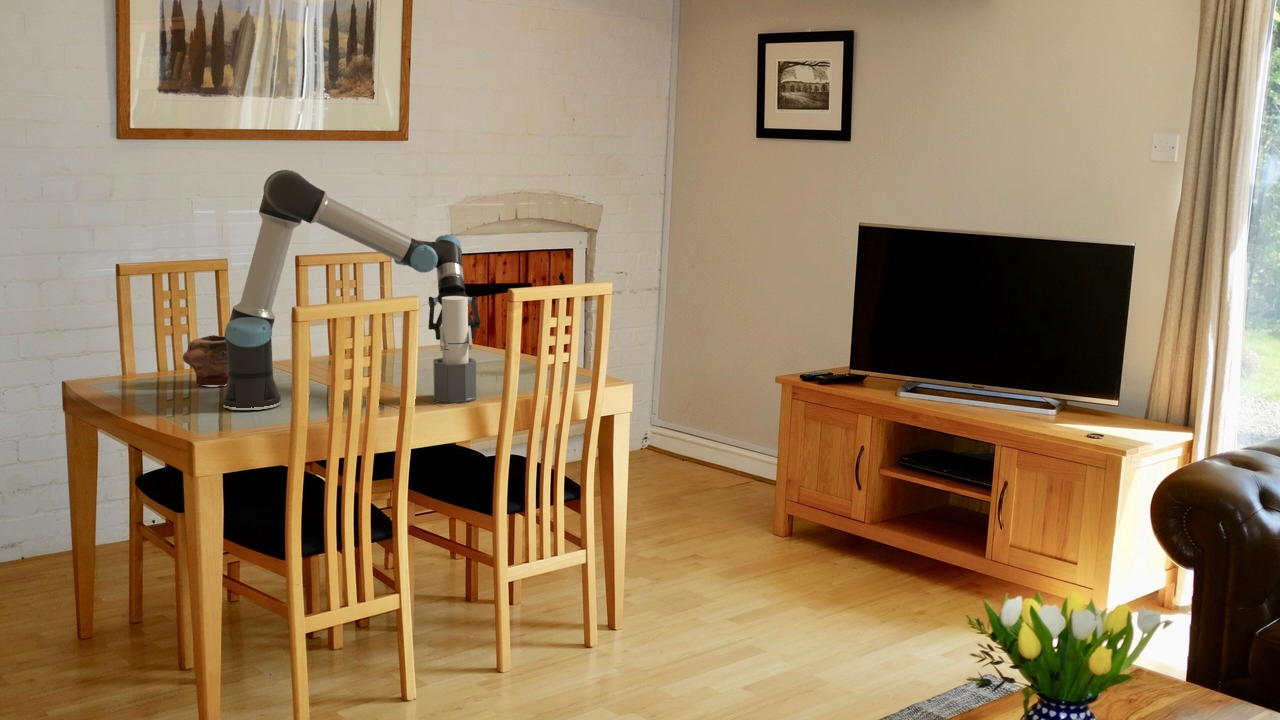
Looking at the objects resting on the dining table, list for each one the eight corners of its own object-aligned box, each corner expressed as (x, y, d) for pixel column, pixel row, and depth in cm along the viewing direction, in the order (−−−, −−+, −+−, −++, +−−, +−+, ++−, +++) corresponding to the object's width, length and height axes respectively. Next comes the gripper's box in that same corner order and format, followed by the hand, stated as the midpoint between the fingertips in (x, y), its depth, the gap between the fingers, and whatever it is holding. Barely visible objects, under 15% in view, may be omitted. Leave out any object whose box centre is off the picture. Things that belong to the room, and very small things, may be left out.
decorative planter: (249, 377, 373) (247, 332, 370) (260, 384, 362) (258, 338, 360) (180, 383, 362) (178, 336, 360) (189, 391, 352) (186, 343, 349)
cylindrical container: (463, 388, 344) (462, 300, 339) (439, 387, 345) (437, 299, 340) (472, 383, 351) (471, 296, 346) (448, 382, 352) (447, 295, 347)
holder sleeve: (434, 404, 342) (434, 365, 339) (432, 394, 353) (431, 357, 351) (478, 402, 344) (478, 364, 342) (474, 393, 356) (473, 356, 354)
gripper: (484, 289, 360) (491, 354, 348) (415, 290, 356) (419, 356, 343) (486, 273, 354) (493, 339, 342) (416, 274, 350) (420, 341, 337)
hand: (456, 347), depth 343 cm, fingers closed on cylindrical container, 7 cm apart
